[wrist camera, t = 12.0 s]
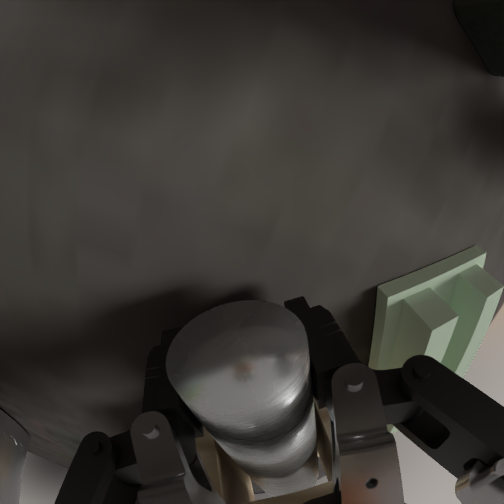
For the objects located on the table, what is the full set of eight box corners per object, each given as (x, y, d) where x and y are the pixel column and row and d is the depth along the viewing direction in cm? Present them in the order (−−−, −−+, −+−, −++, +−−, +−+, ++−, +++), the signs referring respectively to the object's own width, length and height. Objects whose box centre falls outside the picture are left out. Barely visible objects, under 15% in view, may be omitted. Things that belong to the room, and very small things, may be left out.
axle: (308, 442, 16) (326, 488, 12) (253, 458, 16) (265, 505, 12) (282, 286, 9) (331, 378, 6) (167, 319, 9) (165, 422, 5)
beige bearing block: (241, 456, 20) (259, 539, 12) (190, 387, 14) (205, 536, 6) (320, 435, 20) (350, 515, 13) (316, 355, 14) (378, 494, 7)
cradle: (360, 409, 19) (376, 442, 16) (377, 285, 13) (417, 331, 10) (436, 371, 19) (455, 398, 16) (476, 245, 13) (514, 272, 10)
